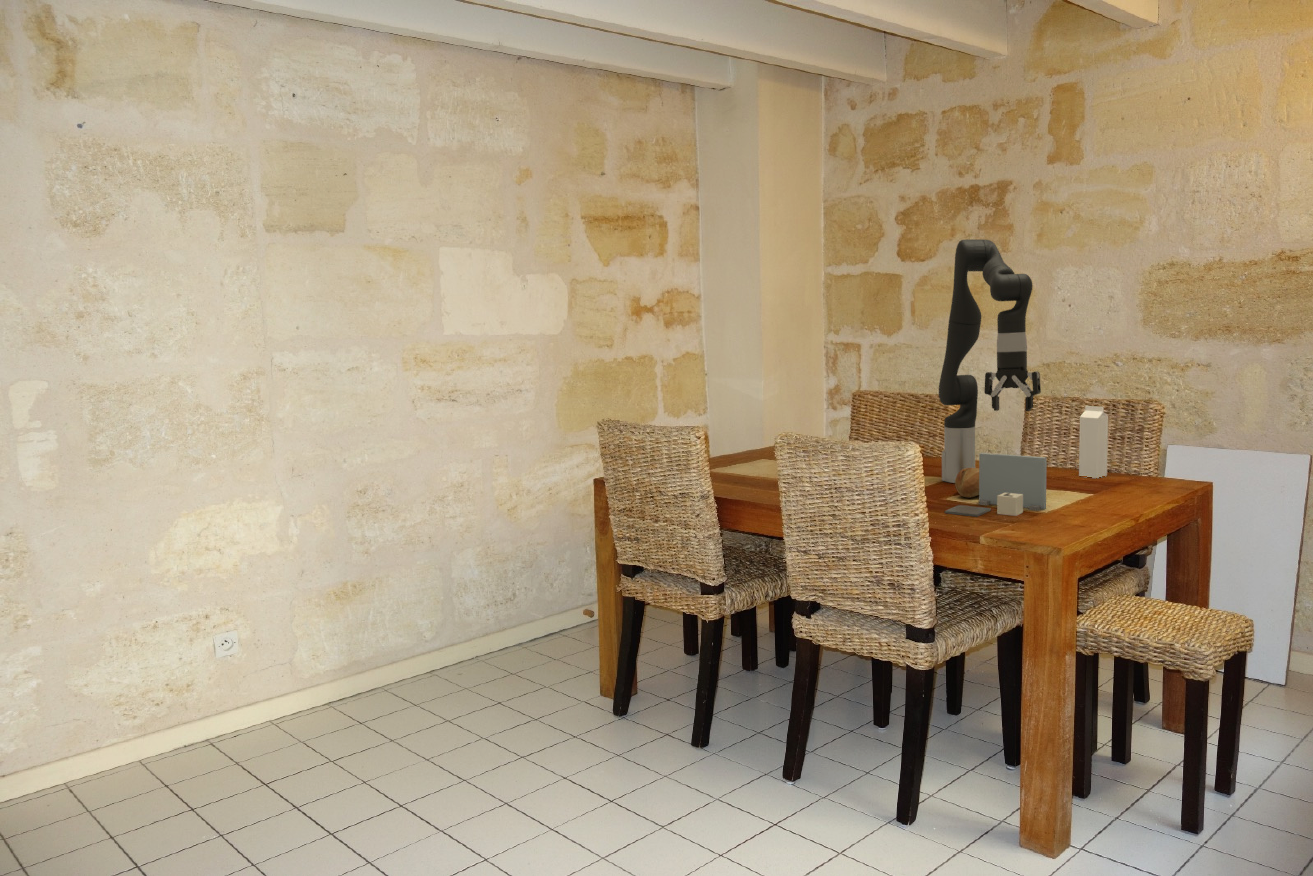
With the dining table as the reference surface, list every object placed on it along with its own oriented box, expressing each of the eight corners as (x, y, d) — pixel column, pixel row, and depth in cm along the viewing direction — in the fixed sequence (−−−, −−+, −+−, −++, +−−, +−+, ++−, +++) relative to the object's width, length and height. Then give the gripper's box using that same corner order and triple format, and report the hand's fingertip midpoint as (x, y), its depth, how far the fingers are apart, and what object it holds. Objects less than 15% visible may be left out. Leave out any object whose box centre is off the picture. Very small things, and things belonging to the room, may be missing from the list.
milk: (1096, 479, 306) (1098, 407, 302) (1078, 476, 310) (1079, 406, 307) (1107, 476, 309) (1108, 405, 306) (1088, 473, 314) (1090, 404, 311)
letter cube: (997, 514, 264) (997, 495, 264) (1004, 510, 268) (1004, 492, 267) (1015, 516, 261) (1015, 497, 260) (1022, 512, 265) (1023, 493, 264)
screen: (975, 504, 277) (975, 454, 275) (984, 500, 281) (984, 451, 279) (1040, 511, 265) (1041, 459, 263) (1048, 507, 270) (1049, 456, 268)
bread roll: (948, 498, 286) (948, 471, 285) (964, 489, 299) (964, 463, 297) (982, 501, 281) (982, 473, 280) (997, 491, 293) (997, 465, 292)
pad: (944, 513, 268) (944, 510, 268) (959, 507, 274) (958, 504, 274) (977, 516, 262) (977, 514, 262) (990, 510, 269) (990, 508, 268)
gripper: (980, 351, 265) (980, 411, 267) (1033, 349, 256) (1034, 412, 258) (990, 350, 271) (991, 409, 273) (1043, 348, 262) (1044, 409, 263)
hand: (1012, 410), depth 265 cm, fingers open, 8 cm apart
